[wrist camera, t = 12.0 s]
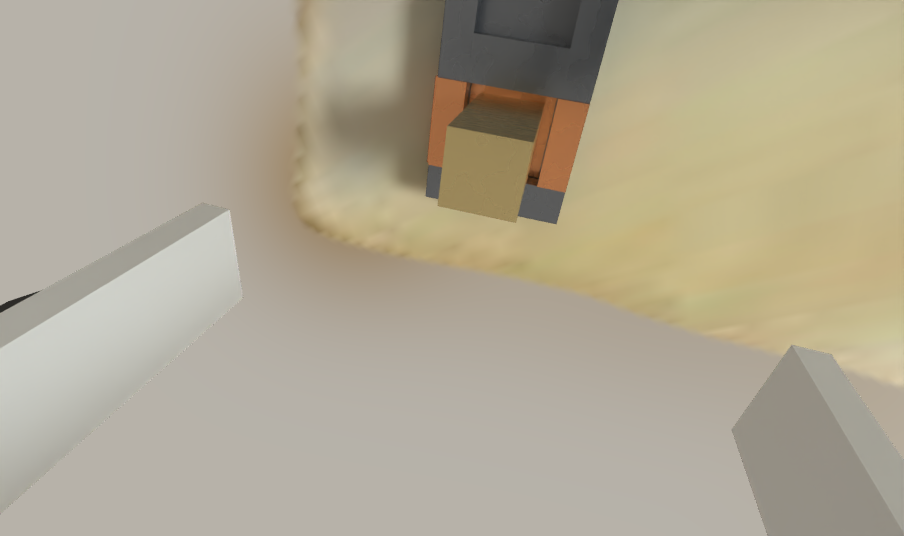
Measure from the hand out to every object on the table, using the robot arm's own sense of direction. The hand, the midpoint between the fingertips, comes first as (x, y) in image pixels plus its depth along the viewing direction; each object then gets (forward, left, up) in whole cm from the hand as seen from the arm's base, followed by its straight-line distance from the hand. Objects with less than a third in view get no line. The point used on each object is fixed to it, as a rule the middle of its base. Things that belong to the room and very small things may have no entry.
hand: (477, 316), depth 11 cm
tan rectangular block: (+1, -2, -21) cm, 21 cm away
